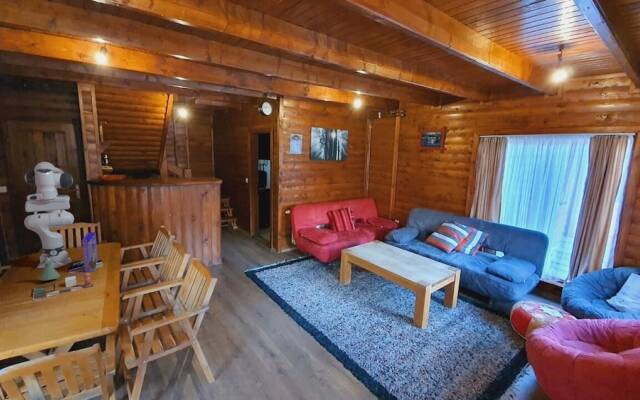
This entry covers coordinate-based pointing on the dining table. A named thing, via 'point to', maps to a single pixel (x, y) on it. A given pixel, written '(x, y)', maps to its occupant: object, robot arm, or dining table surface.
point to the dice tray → (42, 290)
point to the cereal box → (90, 251)
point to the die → (70, 281)
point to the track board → (57, 292)
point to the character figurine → (48, 270)
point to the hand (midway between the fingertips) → (49, 217)
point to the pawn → (87, 280)
